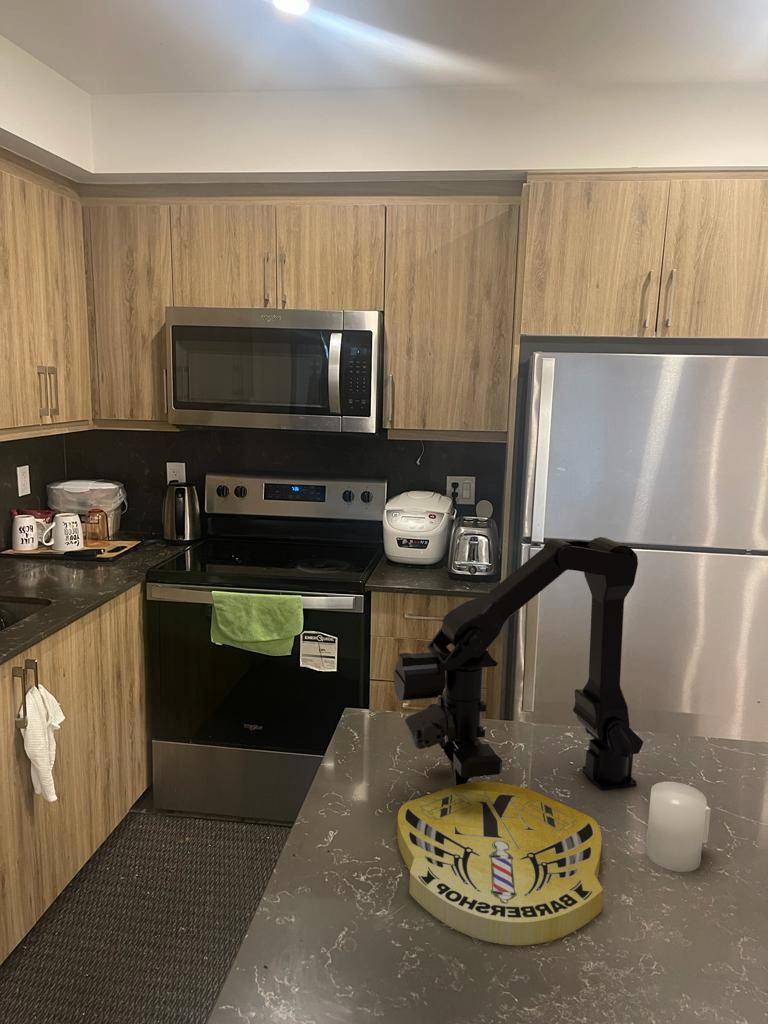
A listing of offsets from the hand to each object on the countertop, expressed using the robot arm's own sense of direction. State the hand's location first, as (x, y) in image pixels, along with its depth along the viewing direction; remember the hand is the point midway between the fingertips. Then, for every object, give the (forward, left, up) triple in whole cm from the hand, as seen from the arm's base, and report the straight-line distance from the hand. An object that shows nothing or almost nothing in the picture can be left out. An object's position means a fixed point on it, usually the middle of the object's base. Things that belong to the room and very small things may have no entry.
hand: (458, 788), depth 115 cm
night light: (-24, +20, -2) cm, 31 cm away
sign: (0, +16, -2) cm, 16 cm away
